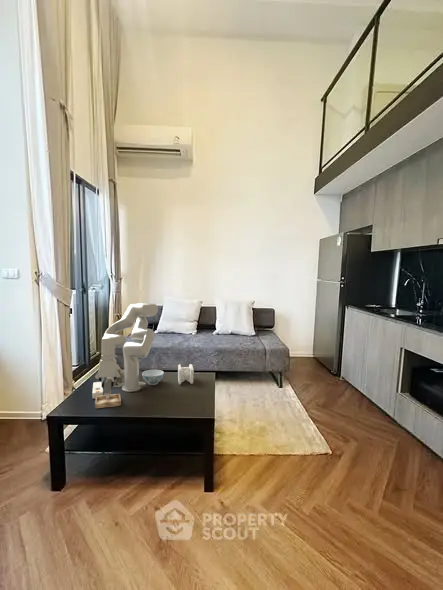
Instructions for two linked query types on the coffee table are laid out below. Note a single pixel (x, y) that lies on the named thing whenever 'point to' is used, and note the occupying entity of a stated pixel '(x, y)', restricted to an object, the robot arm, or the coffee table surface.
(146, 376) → the chinaware
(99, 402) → the tray
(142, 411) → the coffee table surface
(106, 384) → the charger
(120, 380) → the ceramic cottage
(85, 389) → the coffee table surface
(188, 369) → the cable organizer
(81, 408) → the coffee table surface
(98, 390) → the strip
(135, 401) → the coffee table surface
